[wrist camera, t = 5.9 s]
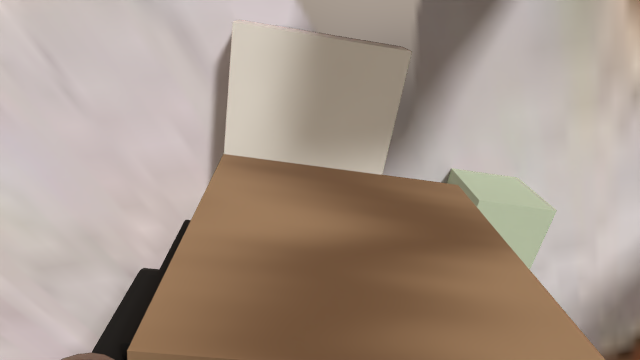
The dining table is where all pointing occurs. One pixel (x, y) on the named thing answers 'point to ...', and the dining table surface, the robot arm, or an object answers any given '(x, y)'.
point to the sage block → (508, 209)
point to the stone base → (312, 97)
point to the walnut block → (347, 275)
